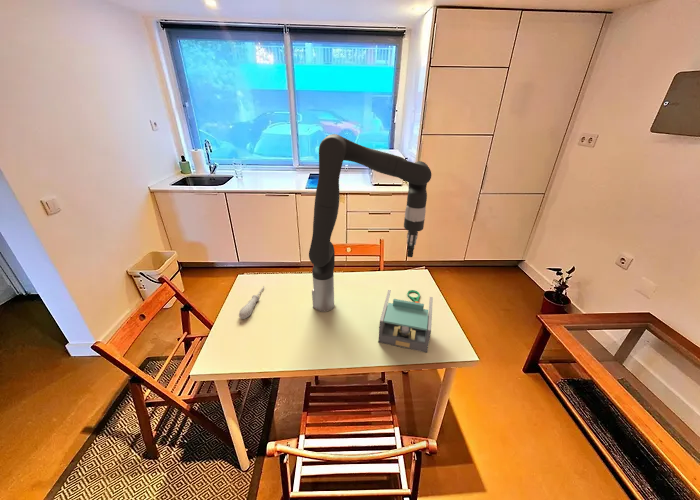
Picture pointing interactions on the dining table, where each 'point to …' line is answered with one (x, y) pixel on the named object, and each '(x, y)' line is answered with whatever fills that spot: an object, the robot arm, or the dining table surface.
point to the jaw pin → (404, 332)
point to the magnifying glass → (413, 297)
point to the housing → (417, 336)
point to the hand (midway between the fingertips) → (409, 256)
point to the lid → (407, 314)
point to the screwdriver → (249, 306)
